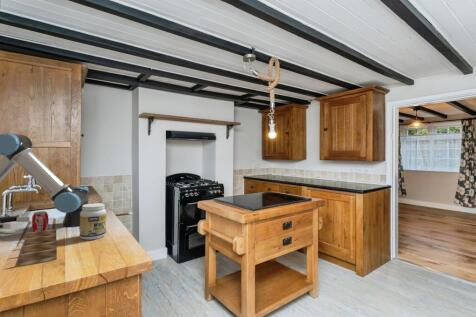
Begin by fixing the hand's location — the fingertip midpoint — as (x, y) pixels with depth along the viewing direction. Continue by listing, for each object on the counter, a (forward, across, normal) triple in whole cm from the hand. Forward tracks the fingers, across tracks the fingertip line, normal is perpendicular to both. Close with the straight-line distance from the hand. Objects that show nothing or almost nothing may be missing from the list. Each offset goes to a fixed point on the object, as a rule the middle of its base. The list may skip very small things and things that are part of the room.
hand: (20, 222), depth 138 cm
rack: (+24, +22, -7) cm, 33 cm away
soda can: (+10, 0, -7) cm, 12 cm away
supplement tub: (+39, +4, -7) cm, 40 cm away
